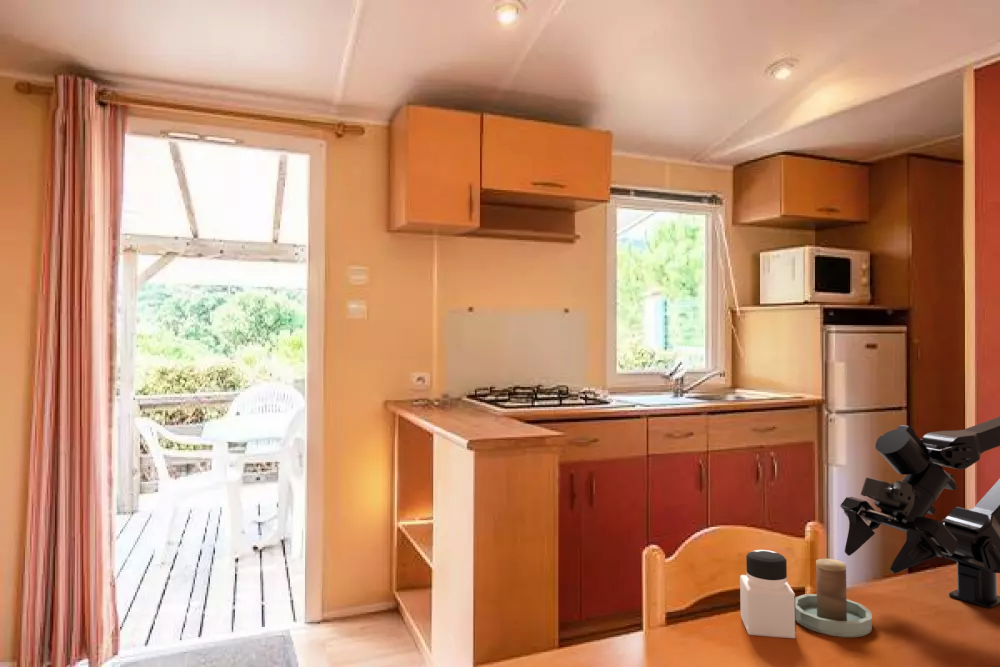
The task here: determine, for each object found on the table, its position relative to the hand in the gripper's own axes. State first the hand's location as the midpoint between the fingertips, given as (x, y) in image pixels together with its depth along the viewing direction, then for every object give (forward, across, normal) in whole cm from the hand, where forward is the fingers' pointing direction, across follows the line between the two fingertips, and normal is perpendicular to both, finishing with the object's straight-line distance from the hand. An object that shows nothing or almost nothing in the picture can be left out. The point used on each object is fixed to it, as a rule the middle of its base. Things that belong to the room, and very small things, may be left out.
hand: (868, 562), depth 107 cm
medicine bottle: (+20, -1, -8) cm, 22 cm away
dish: (+12, 0, 0) cm, 12 cm away
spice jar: (+11, 0, 0) cm, 11 cm away
